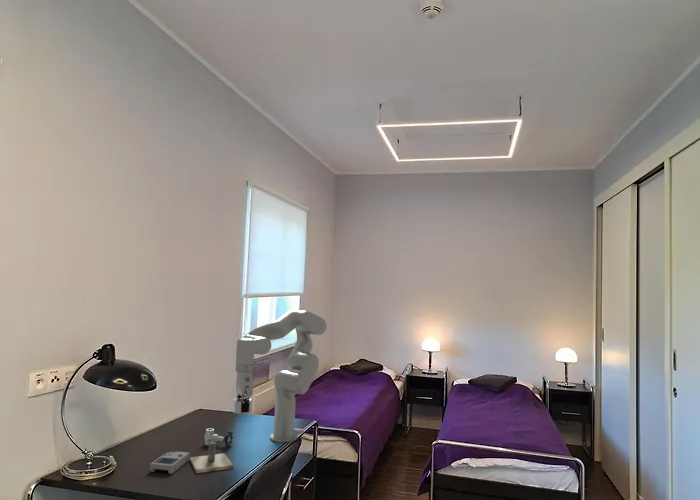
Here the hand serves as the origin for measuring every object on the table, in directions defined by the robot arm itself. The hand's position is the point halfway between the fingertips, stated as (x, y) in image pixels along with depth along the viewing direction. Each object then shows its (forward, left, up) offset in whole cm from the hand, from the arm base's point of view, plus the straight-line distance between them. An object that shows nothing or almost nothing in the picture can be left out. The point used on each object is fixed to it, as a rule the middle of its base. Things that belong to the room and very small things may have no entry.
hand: (242, 409), depth 207 cm
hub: (0, 0, -1) cm, 1 cm away
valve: (+6, -15, -19) cm, 25 cm away
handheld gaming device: (+28, +3, -19) cm, 35 cm away
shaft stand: (+13, +6, -19) cm, 24 cm away
